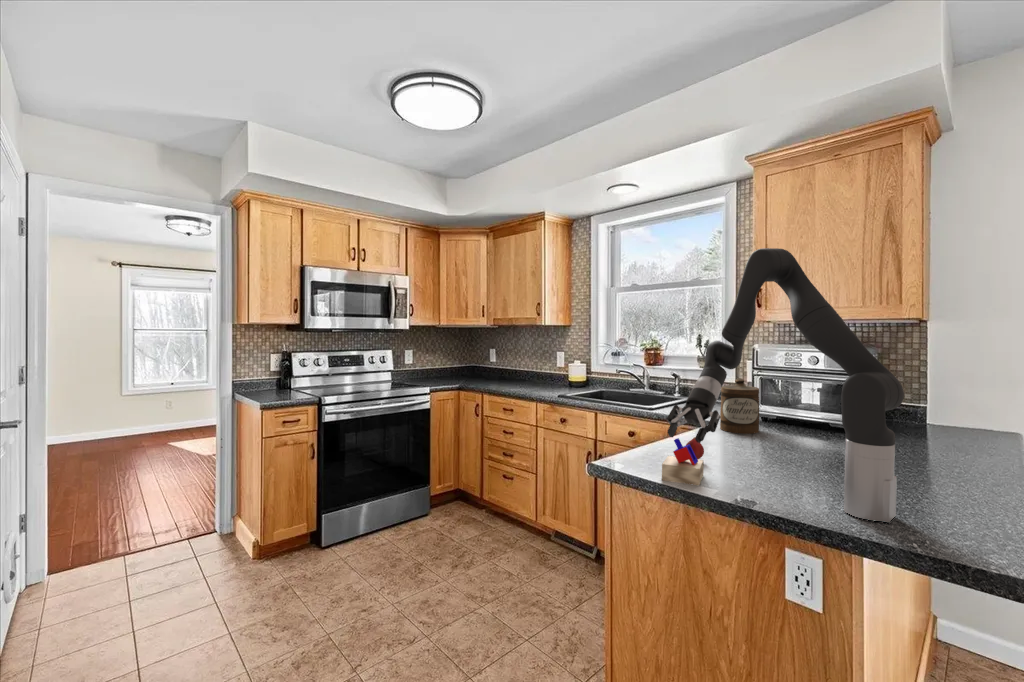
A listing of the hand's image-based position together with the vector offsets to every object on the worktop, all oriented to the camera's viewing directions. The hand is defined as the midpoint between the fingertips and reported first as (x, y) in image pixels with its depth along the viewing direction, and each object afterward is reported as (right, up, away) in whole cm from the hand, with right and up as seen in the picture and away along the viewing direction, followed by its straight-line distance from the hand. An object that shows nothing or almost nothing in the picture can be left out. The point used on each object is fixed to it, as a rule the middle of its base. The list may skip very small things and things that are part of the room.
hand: (683, 438), depth 139 cm
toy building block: (+1, -7, +1) cm, 7 cm away
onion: (+10, -11, +18) cm, 23 cm away
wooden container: (+47, -10, +66) cm, 81 cm away
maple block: (0, -12, +1) cm, 12 cm away
